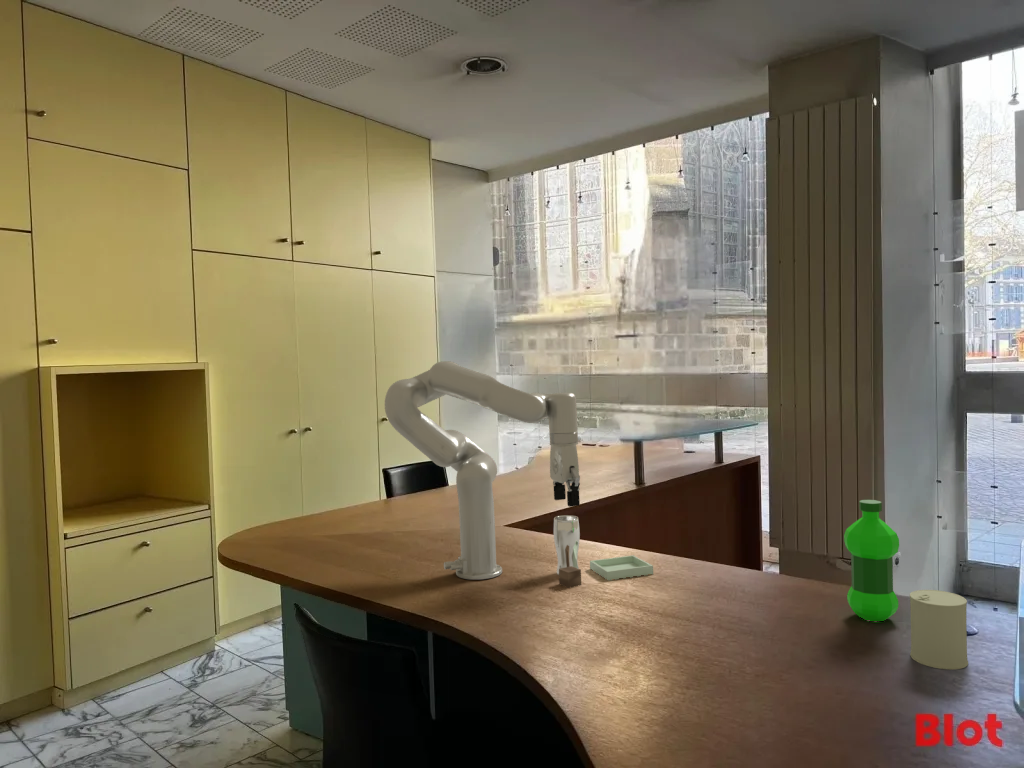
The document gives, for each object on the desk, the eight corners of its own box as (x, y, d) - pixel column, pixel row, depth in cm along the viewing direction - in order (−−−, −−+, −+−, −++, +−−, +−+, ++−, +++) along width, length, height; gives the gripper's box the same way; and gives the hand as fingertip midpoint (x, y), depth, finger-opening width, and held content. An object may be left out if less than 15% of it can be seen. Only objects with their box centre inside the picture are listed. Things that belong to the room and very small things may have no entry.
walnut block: (568, 588, 184) (568, 572, 184) (559, 584, 188) (558, 569, 188) (581, 585, 187) (580, 569, 186) (571, 581, 190) (571, 566, 190)
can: (899, 651, 139) (898, 588, 139) (945, 647, 140) (944, 585, 140) (931, 671, 130) (930, 604, 130) (980, 667, 131) (979, 601, 130)
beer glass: (579, 577, 193) (577, 521, 192) (553, 577, 194) (551, 520, 193) (582, 569, 199) (580, 515, 199) (557, 569, 201) (555, 515, 200)
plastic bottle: (898, 629, 149) (896, 508, 149) (842, 621, 155) (839, 504, 154) (902, 614, 158) (900, 499, 157) (849, 607, 164) (846, 495, 163)
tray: (607, 580, 189) (607, 571, 189) (590, 569, 200) (589, 560, 200) (653, 574, 193) (653, 565, 193) (633, 563, 204) (633, 555, 204)
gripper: (539, 437, 203) (542, 498, 203) (562, 443, 186) (565, 510, 187) (564, 435, 205) (567, 496, 205) (589, 440, 188) (592, 507, 189)
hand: (566, 502), depth 196 cm, fingers open, 9 cm apart
